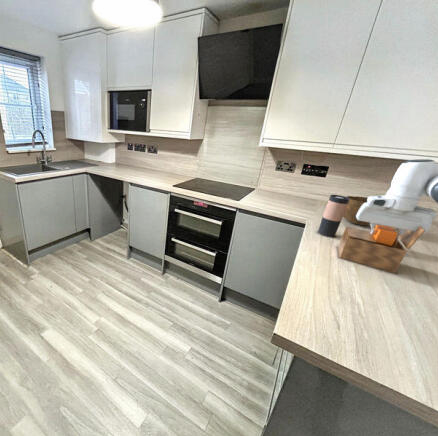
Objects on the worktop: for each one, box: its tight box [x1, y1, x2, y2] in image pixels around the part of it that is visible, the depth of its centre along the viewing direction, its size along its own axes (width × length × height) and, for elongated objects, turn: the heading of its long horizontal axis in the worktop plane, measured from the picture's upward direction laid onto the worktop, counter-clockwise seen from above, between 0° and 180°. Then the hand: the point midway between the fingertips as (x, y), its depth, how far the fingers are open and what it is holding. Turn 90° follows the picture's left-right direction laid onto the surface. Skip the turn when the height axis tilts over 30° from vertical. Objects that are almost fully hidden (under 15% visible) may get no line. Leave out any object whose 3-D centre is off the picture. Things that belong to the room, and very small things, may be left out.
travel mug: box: [317, 194, 349, 238], centre depth 117 cm, size 8×8×20 cm
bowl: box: [343, 195, 370, 226], centre depth 137 cm, size 19×19×15 cm
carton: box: [337, 226, 408, 274], centre depth 96 cm, size 17×13×10 cm
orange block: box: [373, 225, 399, 246], centre depth 92 cm, size 5×8×5 cm, turn 144°
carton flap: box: [398, 226, 425, 251], centre depth 88 cm, size 8×13×1 cm
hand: (383, 236), depth 93 cm, fingers closed on orange block, 5 cm apart
